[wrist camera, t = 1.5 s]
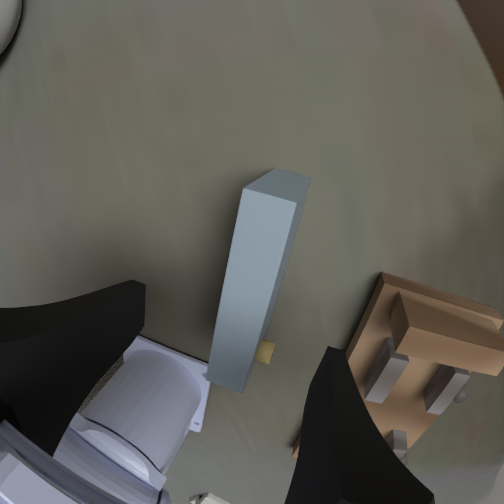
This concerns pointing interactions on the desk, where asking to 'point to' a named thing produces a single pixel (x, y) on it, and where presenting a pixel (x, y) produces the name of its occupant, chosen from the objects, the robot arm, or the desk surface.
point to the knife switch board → (418, 356)
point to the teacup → (8, 20)
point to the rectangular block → (255, 275)
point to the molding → (207, 499)
